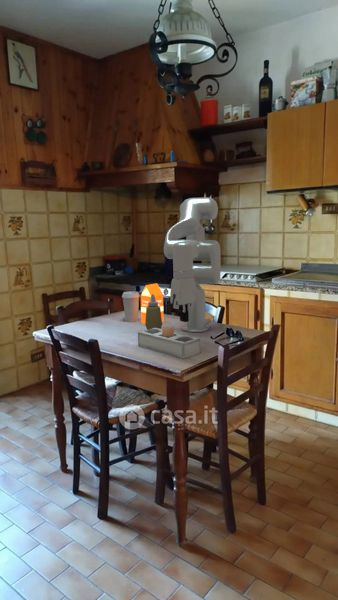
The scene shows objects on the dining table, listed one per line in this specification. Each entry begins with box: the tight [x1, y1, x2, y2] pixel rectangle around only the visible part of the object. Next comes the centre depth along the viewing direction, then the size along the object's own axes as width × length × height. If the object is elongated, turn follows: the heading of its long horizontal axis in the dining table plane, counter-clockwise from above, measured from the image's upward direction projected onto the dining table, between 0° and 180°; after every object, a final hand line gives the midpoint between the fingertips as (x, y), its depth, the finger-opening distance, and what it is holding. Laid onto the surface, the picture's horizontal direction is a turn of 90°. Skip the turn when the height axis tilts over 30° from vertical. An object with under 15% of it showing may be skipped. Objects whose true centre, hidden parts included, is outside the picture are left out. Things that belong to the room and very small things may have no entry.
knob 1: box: [146, 329, 159, 334], centre depth 179 cm, size 5×5×5 cm
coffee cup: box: [121, 290, 141, 323], centre depth 224 cm, size 10×10×15 cm
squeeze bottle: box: [144, 294, 163, 330], centre depth 200 cm, size 8×8×18 cm
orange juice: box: [140, 283, 165, 325], centre depth 218 cm, size 8×9×20 cm
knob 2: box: [178, 336, 190, 342], centre depth 167 cm, size 5×5×5 cm
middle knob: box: [161, 326, 175, 338], centre depth 172 cm, size 5×5×5 cm
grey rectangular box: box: [137, 328, 202, 360], centre depth 173 cm, size 10×26×6 cm, turn 45°
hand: (184, 321), depth 166 cm, fingers closed
